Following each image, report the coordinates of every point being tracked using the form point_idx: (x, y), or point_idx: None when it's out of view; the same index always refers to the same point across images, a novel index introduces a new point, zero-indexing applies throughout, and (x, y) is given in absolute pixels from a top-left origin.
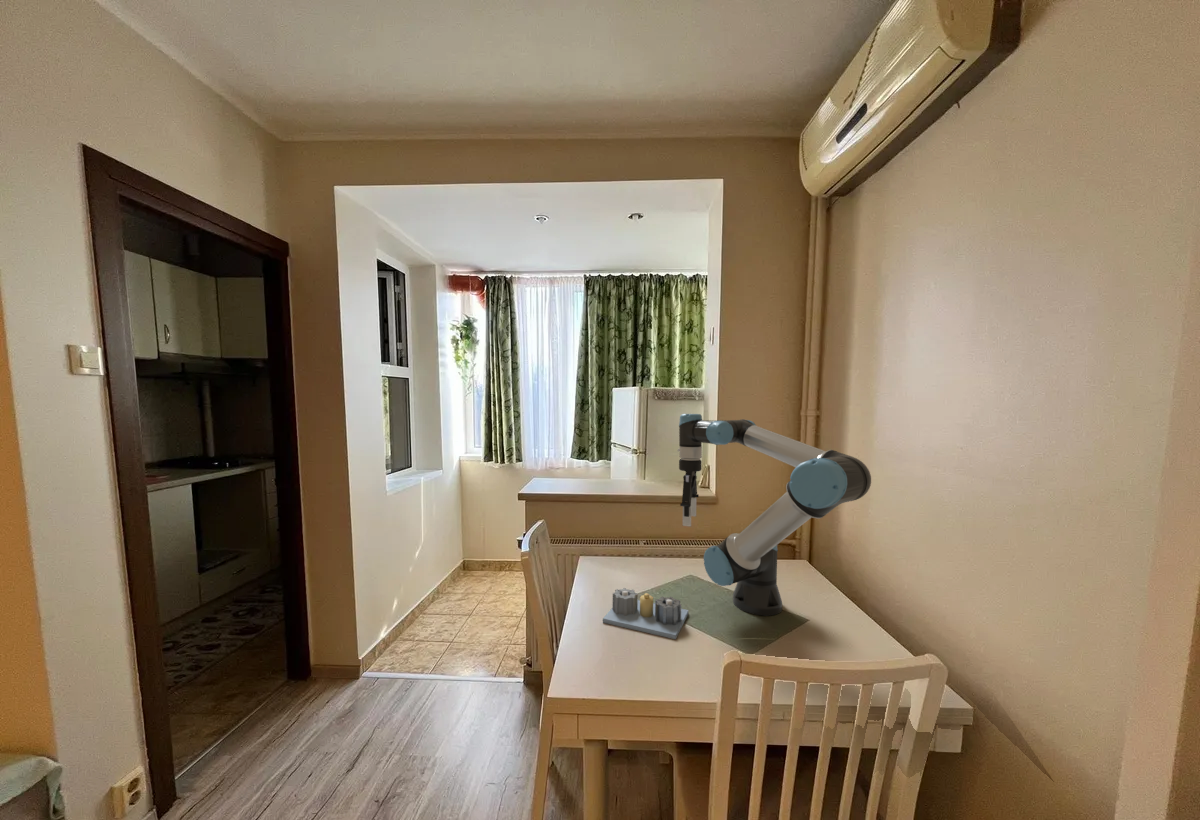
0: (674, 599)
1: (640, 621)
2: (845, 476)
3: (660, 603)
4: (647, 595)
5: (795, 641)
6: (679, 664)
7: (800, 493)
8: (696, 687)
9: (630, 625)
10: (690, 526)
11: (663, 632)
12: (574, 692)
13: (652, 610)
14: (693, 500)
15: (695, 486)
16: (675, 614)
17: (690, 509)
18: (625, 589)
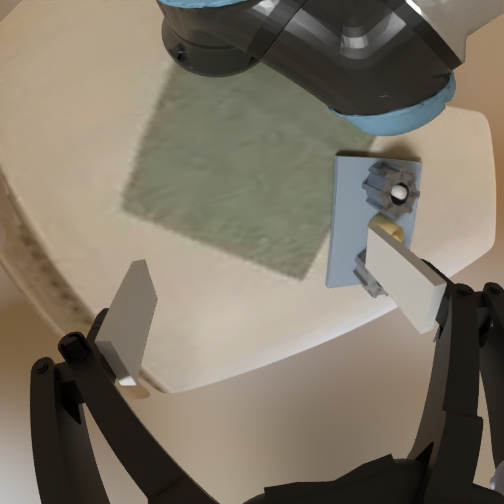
0: (387, 185)
1: (401, 225)
2: None
3: (408, 206)
4: (400, 237)
5: None
6: (456, 148)
7: None
8: (477, 126)
9: (411, 235)
10: (379, 227)
11: (419, 182)
12: (492, 236)
13: (386, 217)
14: (124, 343)
15: (114, 449)
16: (408, 172)
17: (434, 275)
18: (370, 284)
